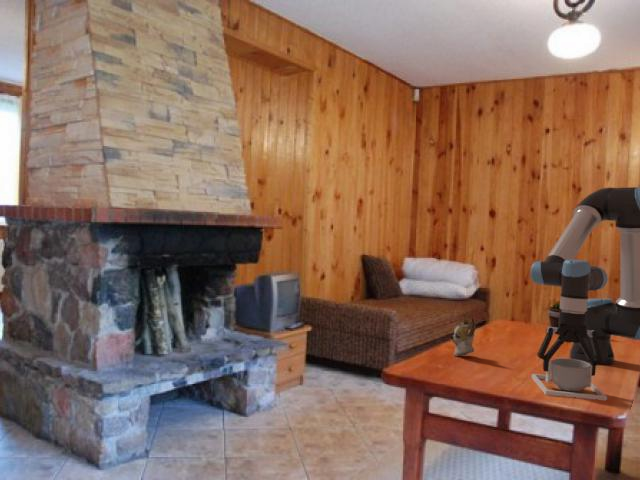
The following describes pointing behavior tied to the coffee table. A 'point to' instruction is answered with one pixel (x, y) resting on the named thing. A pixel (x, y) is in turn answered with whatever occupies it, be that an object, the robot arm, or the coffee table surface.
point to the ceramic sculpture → (464, 337)
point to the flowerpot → (554, 315)
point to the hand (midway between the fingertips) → (567, 384)
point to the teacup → (571, 374)
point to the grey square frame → (567, 394)
